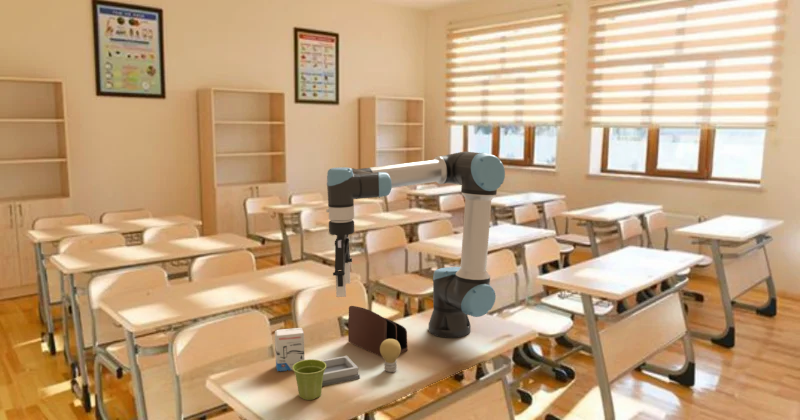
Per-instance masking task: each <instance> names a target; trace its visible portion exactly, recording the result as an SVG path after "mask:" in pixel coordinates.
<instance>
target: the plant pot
mask: <svg viewBox="0 0 800 420" xmlns="http://www.w3.org/2000/svg"><path fill="white" fill-rule="evenodd" d="M292 369H293V370H292V371H293V372H294V375H295V379H296V385H297V390H298V391H297V392H298V395H299V396H298V397H299V398H302V399H303V400H305V401H309V400H310V401H311V400H315V399H316V398H320V397H321V396H322V389H323V386H322V382H323V374H324V372H325V369H326V363H325V362H323V361H321V360H319V359H314V358H313V359H310V358H308V359H304V360H303V361H299V362H297V363H295V364H294V365H293V367H292Z"/></svg>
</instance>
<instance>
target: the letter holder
mask: <svg viewBox="0 0 800 420" xmlns="http://www.w3.org/2000/svg"><path fill="white" fill-rule="evenodd" d="M347 321H348V322H347V323H348V329H347V330H348V331H347V332H348V335H347V336H348V337H347V338H348V339H347V340H348V343H350V344H352V345H355V346H356V347H359V348H360V349H362V350H366V351H368V352H370V353H371V354H374V355H376V356H378V357H380V358H383V357H382V355H381V353H380V346H381V343H382V342H383V341H384V340H386V339H395V340H397V341H398V342H399V344H400V347H401V352H400V354H402V353H404V352H407V351H408V331H407V328H405V327H404V325H401V324H400V323H397V322H396V321H393V320H391V319H388V318H387V317H383V316H382V315H380V314H378V313H377V312H374V311H372V310H370V309H367V308H364V307H361V306H356V305H349V306H348V319H347Z"/></svg>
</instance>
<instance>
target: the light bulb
mask: <svg viewBox="0 0 800 420" xmlns="http://www.w3.org/2000/svg"><path fill="white" fill-rule="evenodd" d="M400 352H401V347H400V344H399V342H398V341H397V340H395V339H386V340H384V341H383V342H382V343H381V346H380V353H381V355H382V357H381V358H382V359H384V360H383V361H384V362H383V363H384V365H383V366H384V371H386V372H388V373H394V372H395V371H397V369H398V368H397V362H398V361H397V359H398V358H399V356H400V354H401V353H400Z"/></svg>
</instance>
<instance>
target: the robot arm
mask: <svg viewBox="0 0 800 420" xmlns="http://www.w3.org/2000/svg"><path fill="white" fill-rule="evenodd" d="M326 174H327V175H326V188H327V189H326V190H327V202H328V203H327V207H328V208H327V209H326V211H325V212H326V213H328V220H329V222H328V234H329V235H332V236H336V238H335V239H334V248H335V249H334V253H335V254H334V272H332V276H335V292H336V293H335V294H336V295H335V296H336V297H337V298H345V297H347V287H346V284H351V263H352V262H353V260H352V259H353V258H351V253H350V252H351V251H350V238H349V236H350V235H352V234H354V233H355V221H354V219H355V205H354V203H355V202H354V200H359V199H360V200H361V199H371V198H372V199H373V198H379V199H380V198H381V197H382V198H383V197H388V196H389V195H390V194H391V192H392V189H395V188H401V187H409V186H415V185H423V184H430V183H437V184H439V185H445V184H451V185H459V186H461V187H460V188H461V189H460V191H461V192H460V193H461V194H462V196H463V197H464V211H463V212H464V214H463V215H464V216H463V226H462V227H463V228H462V241H461V255H460V256H461V257H460V266H459V267H458V266H449V267H441V268H438V269H435V270H434V271H433V277H432V282H433V283H432V285H433V286H432V287H433V288H432V289H433V291H432V292H433V295H432V296H433V297H432V298H433V303H432V305H433V307H432V309H433V310H432V313H431V315H430V319H429V322H428V332H429V333H430V334H432V335H433V336H436V337H440V338H449V339H451V338H452V339H453V338H461V337H465V336H467V335H469V334H470V333H471V329H472V328H471V323H470V319H469V316H471V317H474V318H480V317H483V316H485V315H486V314H488V313H489V311H491V310H492V309H493V307H494V305H495V302H496V296H497V295H496V291H495V290H494V288H493V287H492V286H491V275H490V274H489V272H488V271H487V263H488V252H489V251H488V249H489V239H490V235H489V234H490V225H491V224H490V223H491V222H490V221H491V211H492V210H491V209H492V208H491V207H492V200H493V199H494V198H495V197H497V194H498V191H497V190H498V189H499V188H501V185H503V183H504V181H505V178H506V170H505V166H504V164H503V162H502V161H501V159H500V158H499V157H497V156H496V155H494V154H490V153H487V152H473V151H472V152H471V151H460V152H455V153H449V154H445V155H443V154H442V155H438V156H435V157H434V158H433V159H431V160H430V159H429V160H420V161H412V162H405V163H404V162H403V163H396V164H395V163H394V164H389V165H388V164H386V165H379V166H372V167H363V168H354V167H353V168H351V167H346V166H345V167H344V166H343V167H331V168H329V169H328V170H327V173H326Z"/></svg>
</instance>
